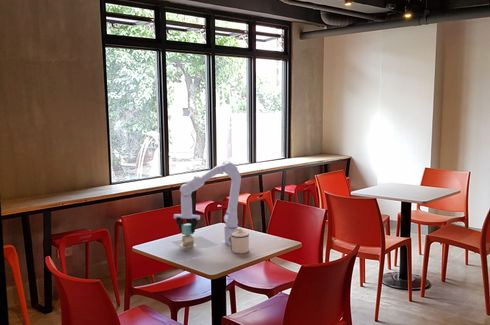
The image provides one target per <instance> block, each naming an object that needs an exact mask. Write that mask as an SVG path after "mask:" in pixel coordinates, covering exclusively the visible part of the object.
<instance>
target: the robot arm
mask: <svg viewBox="0 0 490 325" xmlns="http://www.w3.org/2000/svg"><path fill="white" fill-rule="evenodd" d="M238 169H239V168H238V167H237V166H236V165H235V164H234V163H232V162H231V161H230V160H226V161H223V162H221V163H219V164H218V165H216V166H214V167H213V168H212V169H210V170H209V171H207V172H206V173H204V174H203V175H202V176H201V175H197V176H196V175H195V176H193V178H192V179H191V180H189V181H186V182H185V183H184V184H182V185H181V186H180V187H179V192H180V210H181V212H180V213H174V214H173V219H175V222H176V223H177V226H178V228H179V231H180V233H182V229H181V225H183V224H184V222H185V221H184V219H186V220H190V224H191V227H192V233H195V232H196V226H197V225H198V222H199V221H200V220H201V215H199V214H193V200H192V199H193V198H192V193H193V192H195V191H197V190H198V189H200V188H201V187H203V186H204V185H205V182H206V181H208V180H210V179H212V178H213V177H215V176H216V175H224V173H225V174H226V175H227V176H228V177H229V178H230V179H231V183H230V191H229V197H228V203H227V204H228V206H227V208H226V213H225V214H224V216H223V221H224V222H225V224H224V225H223V226H224V228H223V229H224V240H221V242H222V243H225V244H226V245H228V246H232V245H231V244H230V242H229V236H231V234H232V233H233V232H236V231H237V230H238V229H239V225H238V224H239V220H238V204H239V196H240V191H241V189H240V188H241V183H242V176H241V174H240V172H239V170H238ZM231 241H232V237H231Z"/></svg>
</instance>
